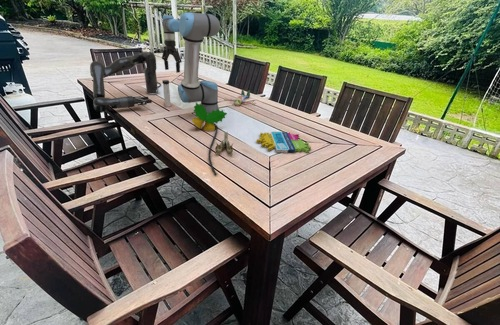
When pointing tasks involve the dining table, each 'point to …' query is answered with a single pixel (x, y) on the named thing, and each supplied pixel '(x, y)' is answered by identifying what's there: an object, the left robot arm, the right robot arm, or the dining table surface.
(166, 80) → the lid
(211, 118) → the ornament
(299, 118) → the dining table surface
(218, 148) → the jawbone
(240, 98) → the toy
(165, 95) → the bottle
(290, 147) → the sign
